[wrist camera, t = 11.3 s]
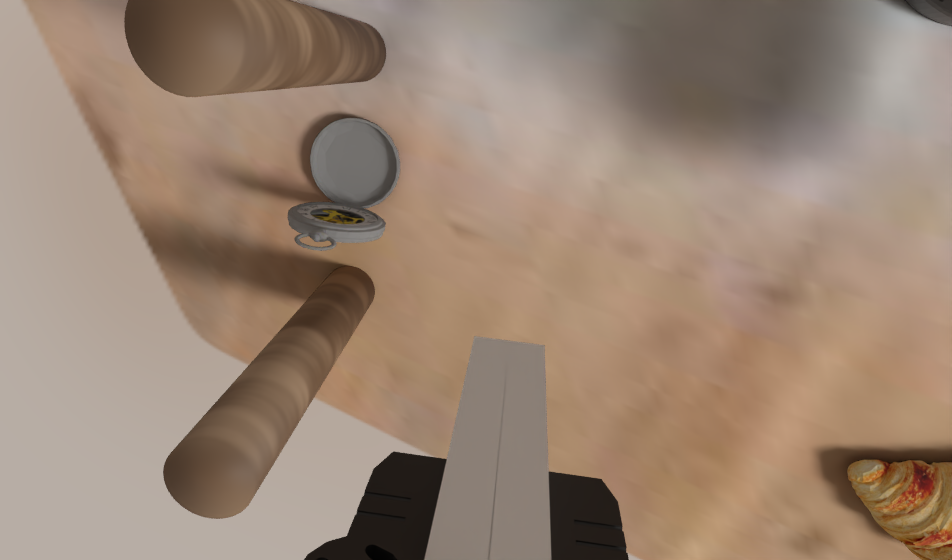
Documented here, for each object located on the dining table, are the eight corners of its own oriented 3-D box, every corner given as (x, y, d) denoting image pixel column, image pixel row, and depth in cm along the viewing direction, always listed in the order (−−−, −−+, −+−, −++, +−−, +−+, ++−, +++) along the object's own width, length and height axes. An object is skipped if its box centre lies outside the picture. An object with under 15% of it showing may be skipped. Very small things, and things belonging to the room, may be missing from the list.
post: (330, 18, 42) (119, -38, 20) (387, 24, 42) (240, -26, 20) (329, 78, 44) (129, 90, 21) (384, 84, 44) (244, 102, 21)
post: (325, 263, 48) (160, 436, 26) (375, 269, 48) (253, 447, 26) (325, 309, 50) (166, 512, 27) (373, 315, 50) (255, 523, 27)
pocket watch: (377, 102, 44) (340, 111, 35) (425, 207, 46) (403, 244, 37) (280, 146, 46) (219, 167, 36) (332, 246, 48) (287, 291, 38)
